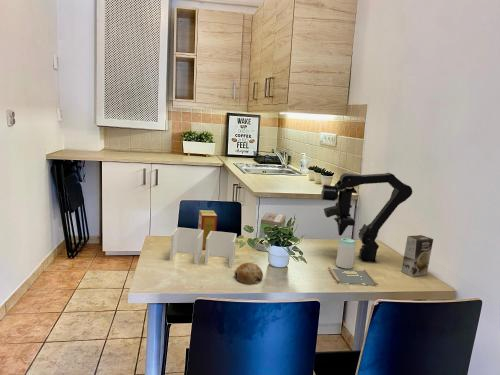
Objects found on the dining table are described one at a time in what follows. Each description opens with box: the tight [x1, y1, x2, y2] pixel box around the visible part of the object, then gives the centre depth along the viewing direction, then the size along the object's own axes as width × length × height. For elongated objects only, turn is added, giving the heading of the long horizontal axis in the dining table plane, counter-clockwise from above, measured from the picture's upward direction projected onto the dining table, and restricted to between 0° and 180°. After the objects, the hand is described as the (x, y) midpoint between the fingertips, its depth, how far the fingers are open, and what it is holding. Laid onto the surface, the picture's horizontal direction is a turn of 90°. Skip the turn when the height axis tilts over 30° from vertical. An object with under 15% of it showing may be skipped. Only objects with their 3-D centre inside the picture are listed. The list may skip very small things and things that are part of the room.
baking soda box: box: [197, 209, 218, 251], centre depth 181 cm, size 10×6×16 cm
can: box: [335, 237, 357, 270], centre depth 172 cm, size 7×7×12 cm
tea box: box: [257, 212, 287, 252], centre depth 188 cm, size 15×10×15 cm
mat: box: [327, 266, 379, 286], centre depth 162 cm, size 16×14×1 cm
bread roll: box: [233, 262, 264, 285], centre depth 150 cm, size 10×10×8 cm
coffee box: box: [400, 234, 434, 278], centre depth 171 cm, size 9×6×16 cm
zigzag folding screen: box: [169, 226, 238, 268], centre depth 165 cm, size 25×11×11 cm, turn 86°
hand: (340, 235), depth 183 cm, fingers closed
